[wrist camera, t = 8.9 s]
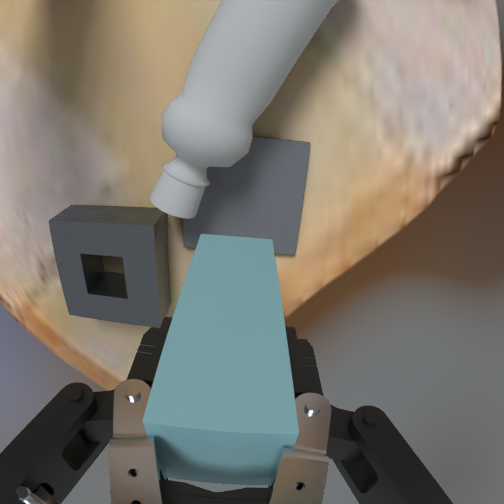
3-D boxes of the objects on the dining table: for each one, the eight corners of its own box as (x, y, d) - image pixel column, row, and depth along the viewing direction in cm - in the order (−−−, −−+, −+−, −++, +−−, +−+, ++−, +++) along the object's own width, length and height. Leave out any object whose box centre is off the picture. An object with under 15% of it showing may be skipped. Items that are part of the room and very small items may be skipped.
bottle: (260, -84, 16) (118, 174, 27) (324, -106, 10) (137, 224, 21) (323, -36, 22) (197, 192, 33) (391, -38, 16) (236, 239, 27)
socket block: (71, 205, 32) (48, 220, 27) (166, 208, 32) (153, 225, 28) (85, 292, 37) (69, 314, 33) (170, 302, 38) (161, 327, 33)
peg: (200, 233, 18) (142, 421, 7) (272, 239, 18) (299, 433, 7) (200, 293, 19) (162, 476, 9) (264, 298, 20) (275, 484, 9)
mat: (186, 133, 29) (185, 134, 28) (308, 142, 29) (310, 143, 29) (184, 243, 34) (183, 247, 34) (294, 251, 35) (294, 254, 34)
